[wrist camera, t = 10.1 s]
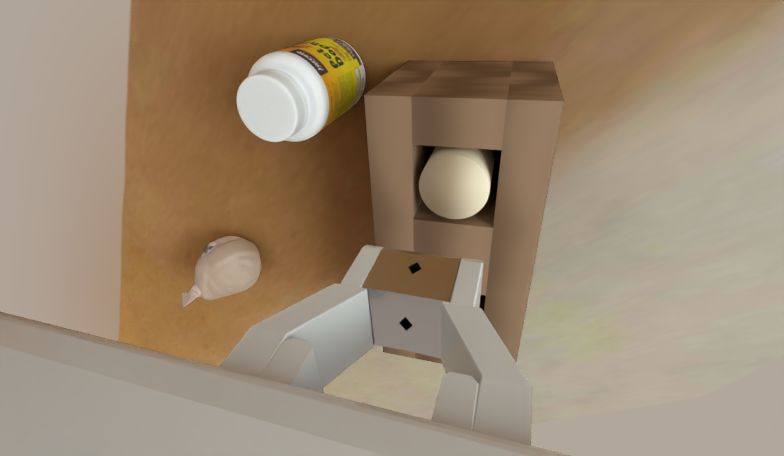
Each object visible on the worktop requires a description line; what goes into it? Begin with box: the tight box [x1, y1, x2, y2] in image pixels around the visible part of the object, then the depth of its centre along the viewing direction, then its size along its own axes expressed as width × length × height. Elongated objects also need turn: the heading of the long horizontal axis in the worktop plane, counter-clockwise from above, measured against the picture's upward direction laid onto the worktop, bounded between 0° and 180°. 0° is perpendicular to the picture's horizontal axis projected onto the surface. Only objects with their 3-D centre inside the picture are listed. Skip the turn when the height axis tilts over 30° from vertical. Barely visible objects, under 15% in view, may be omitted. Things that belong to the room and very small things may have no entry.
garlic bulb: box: [182, 236, 261, 307], centre depth 42 cm, size 7×6×8 cm
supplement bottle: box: [236, 37, 366, 142], centre depth 28 cm, size 6×6×10 cm
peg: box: [419, 146, 496, 219], centre depth 27 cm, size 4×4×9 cm
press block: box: [364, 61, 564, 363], centre depth 30 cm, size 10×20×10 cm, turn 2°
